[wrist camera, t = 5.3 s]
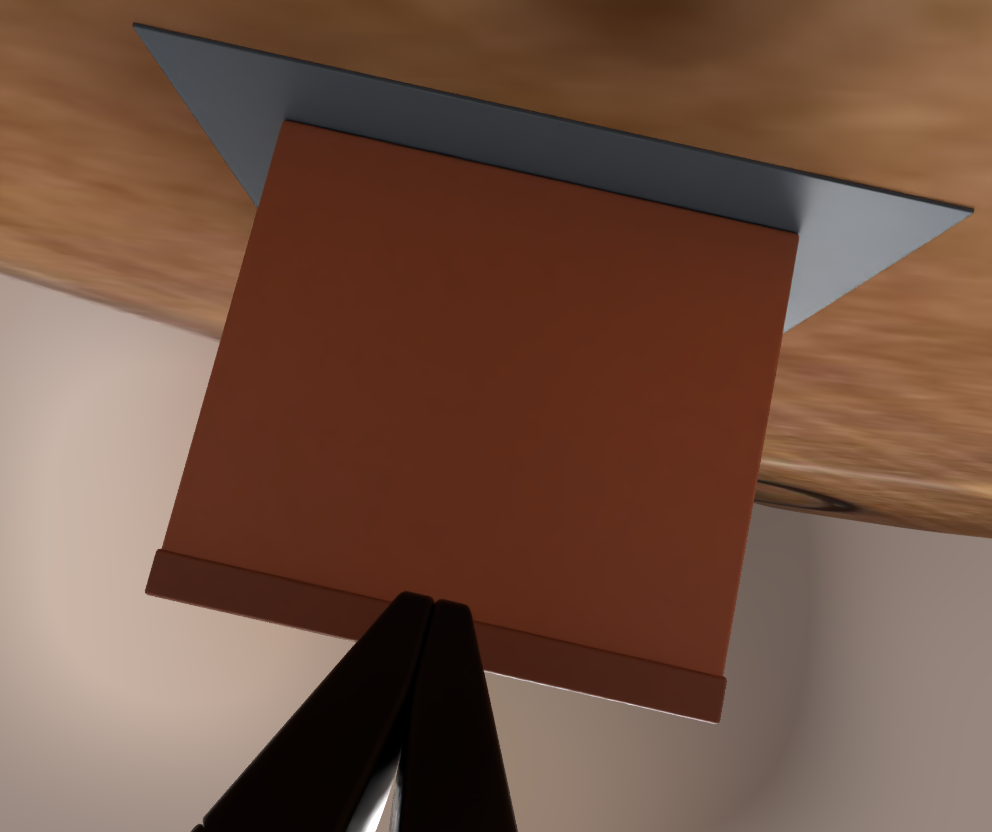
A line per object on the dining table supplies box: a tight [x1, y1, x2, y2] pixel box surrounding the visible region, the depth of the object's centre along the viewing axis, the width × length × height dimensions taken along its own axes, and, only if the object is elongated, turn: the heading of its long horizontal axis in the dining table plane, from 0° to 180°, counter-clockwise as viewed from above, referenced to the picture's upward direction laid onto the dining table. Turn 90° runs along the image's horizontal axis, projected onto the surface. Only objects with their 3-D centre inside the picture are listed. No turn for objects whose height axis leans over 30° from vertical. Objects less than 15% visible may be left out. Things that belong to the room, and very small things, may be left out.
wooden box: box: [145, 120, 799, 724], centre depth 21 cm, size 14×10×9 cm
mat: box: [133, 23, 974, 333], centre depth 25 cm, size 25×14×1 cm, turn 179°
